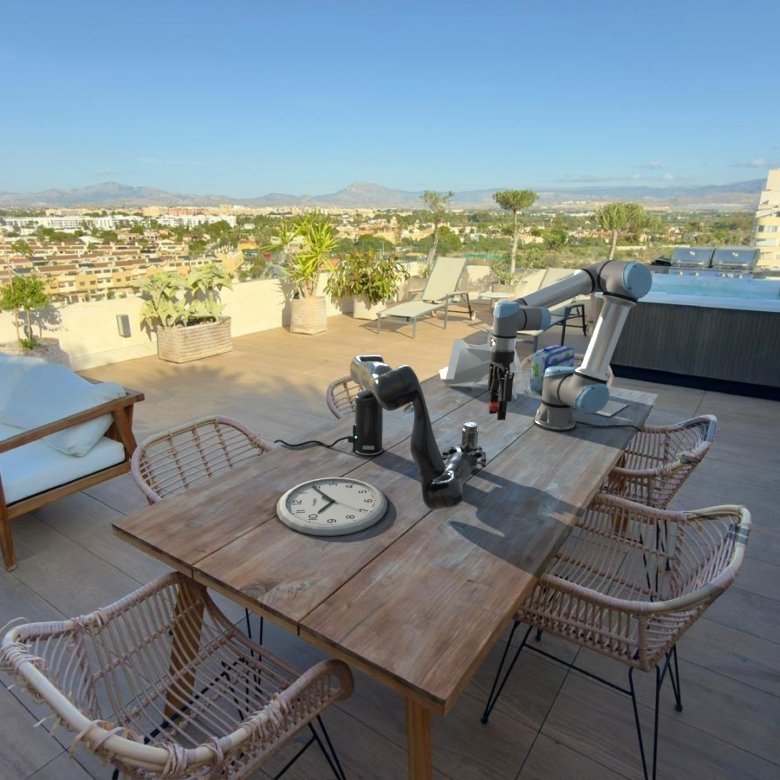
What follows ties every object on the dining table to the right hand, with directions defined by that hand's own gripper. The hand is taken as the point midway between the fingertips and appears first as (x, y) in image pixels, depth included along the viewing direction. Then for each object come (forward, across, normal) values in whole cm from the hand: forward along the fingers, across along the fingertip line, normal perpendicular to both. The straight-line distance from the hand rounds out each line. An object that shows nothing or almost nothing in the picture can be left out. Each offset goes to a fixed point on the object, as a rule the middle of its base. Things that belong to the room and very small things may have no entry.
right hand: (496, 416), depth 177 cm
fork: (+12, -50, -15) cm, 53 cm away
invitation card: (+11, -31, +66) cm, 74 cm away
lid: (-4, 0, 0) cm, 4 cm away
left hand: (+6, +10, -13) cm, 18 cm away
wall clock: (+13, +25, -60) cm, 66 cm away
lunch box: (+11, -58, +57) cm, 82 cm away
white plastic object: (+12, -62, +22) cm, 67 cm away
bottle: (+12, +12, -15) cm, 23 cm away
